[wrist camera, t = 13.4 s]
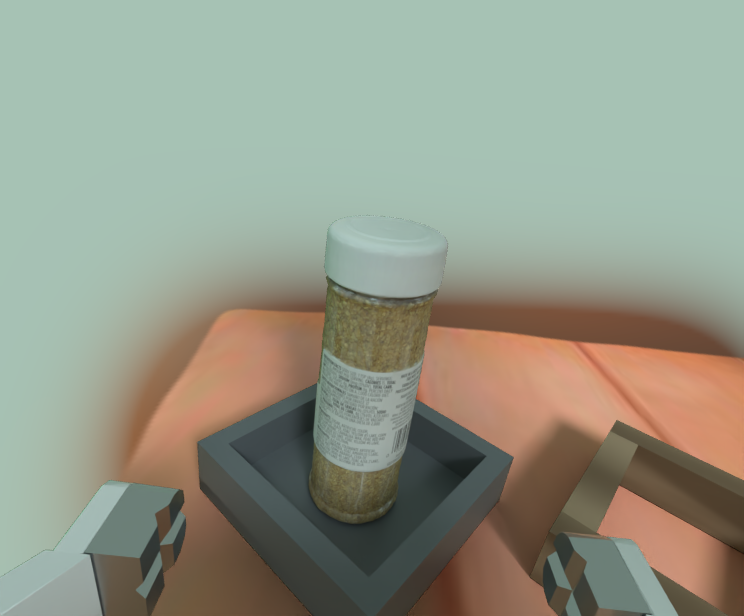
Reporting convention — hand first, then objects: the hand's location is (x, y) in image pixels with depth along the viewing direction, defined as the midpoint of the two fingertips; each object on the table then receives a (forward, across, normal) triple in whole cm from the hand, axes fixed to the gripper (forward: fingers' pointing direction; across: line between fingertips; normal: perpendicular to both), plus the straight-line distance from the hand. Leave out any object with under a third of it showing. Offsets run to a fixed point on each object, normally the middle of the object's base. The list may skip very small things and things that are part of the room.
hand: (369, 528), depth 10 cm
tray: (+10, 0, +10) cm, 14 cm away
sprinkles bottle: (+10, 0, +9) cm, 13 cm away
